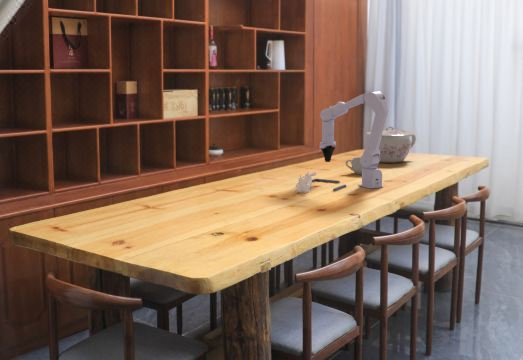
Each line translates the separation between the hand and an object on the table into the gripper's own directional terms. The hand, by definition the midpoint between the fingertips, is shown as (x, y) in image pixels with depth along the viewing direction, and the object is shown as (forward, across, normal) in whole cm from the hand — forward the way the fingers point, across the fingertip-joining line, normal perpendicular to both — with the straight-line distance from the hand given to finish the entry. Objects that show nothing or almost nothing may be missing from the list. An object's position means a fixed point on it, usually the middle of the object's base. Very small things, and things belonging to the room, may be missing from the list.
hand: (327, 161), depth 319 cm
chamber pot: (+10, -80, +2) cm, 80 cm away
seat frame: (+10, +10, +3) cm, 15 cm away
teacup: (+10, -30, +4) cm, 32 cm away
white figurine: (+10, +27, +3) cm, 29 cm away
